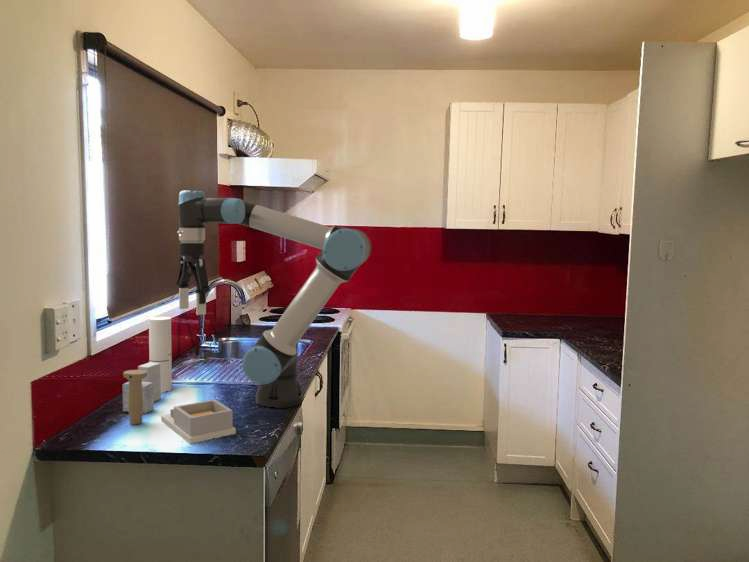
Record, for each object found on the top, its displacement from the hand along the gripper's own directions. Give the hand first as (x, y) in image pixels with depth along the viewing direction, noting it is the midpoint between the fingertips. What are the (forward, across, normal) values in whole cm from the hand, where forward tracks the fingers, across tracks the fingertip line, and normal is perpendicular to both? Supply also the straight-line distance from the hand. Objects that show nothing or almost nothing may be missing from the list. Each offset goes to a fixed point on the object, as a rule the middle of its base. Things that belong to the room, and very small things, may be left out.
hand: (192, 311), depth 179 cm
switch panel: (+31, +16, -5) cm, 35 cm away
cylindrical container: (+31, -26, -1) cm, 40 cm away
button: (+29, +20, -5) cm, 36 cm away
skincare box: (+31, -16, -8) cm, 36 cm away
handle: (+31, +3, -18) cm, 36 cm away
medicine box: (+31, -8, -14) cm, 35 cm away
